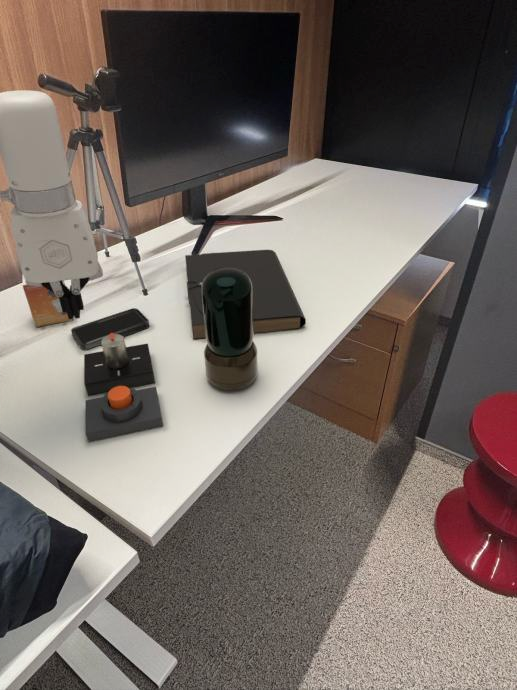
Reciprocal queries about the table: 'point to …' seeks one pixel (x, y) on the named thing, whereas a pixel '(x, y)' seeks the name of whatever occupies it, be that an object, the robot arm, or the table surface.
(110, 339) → the dial
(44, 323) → the small box
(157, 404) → the button block
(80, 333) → the phone
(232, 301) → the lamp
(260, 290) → the dark brown book
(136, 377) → the dial panel
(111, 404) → the button
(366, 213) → the table surface
